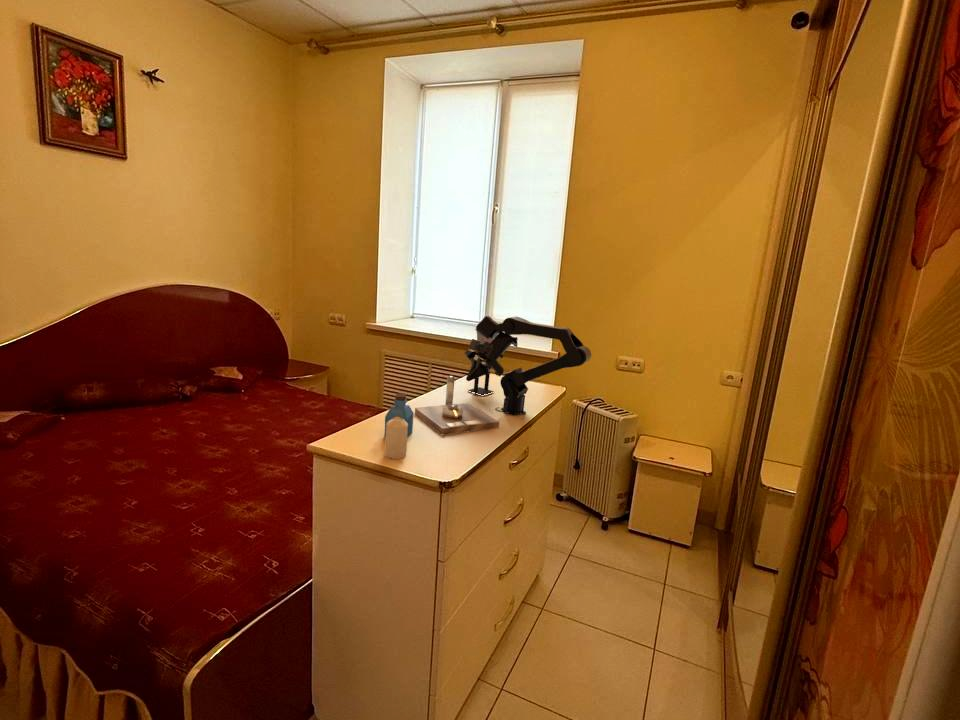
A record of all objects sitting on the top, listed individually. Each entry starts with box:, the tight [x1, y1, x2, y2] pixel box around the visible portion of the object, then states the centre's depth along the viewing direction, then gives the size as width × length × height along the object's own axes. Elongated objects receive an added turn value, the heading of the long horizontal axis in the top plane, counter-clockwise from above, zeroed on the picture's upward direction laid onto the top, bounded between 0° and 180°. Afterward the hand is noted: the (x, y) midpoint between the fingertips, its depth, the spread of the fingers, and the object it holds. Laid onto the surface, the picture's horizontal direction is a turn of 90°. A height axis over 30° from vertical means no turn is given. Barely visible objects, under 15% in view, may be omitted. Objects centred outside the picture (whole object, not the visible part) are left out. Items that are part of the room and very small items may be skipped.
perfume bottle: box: [383, 393, 415, 439], centre depth 141 cm, size 6×6×12 cm
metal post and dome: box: [442, 375, 463, 418], centre depth 157 cm, size 6×18×10 cm, turn 11°
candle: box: [384, 417, 408, 460], centre depth 128 cm, size 6×6×10 cm
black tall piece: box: [467, 316, 495, 395], centre depth 190 cm, size 10×8×30 cm
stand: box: [414, 402, 500, 436], centre depth 159 cm, size 20×20×2 cm
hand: (467, 380), depth 167 cm, fingers closed
